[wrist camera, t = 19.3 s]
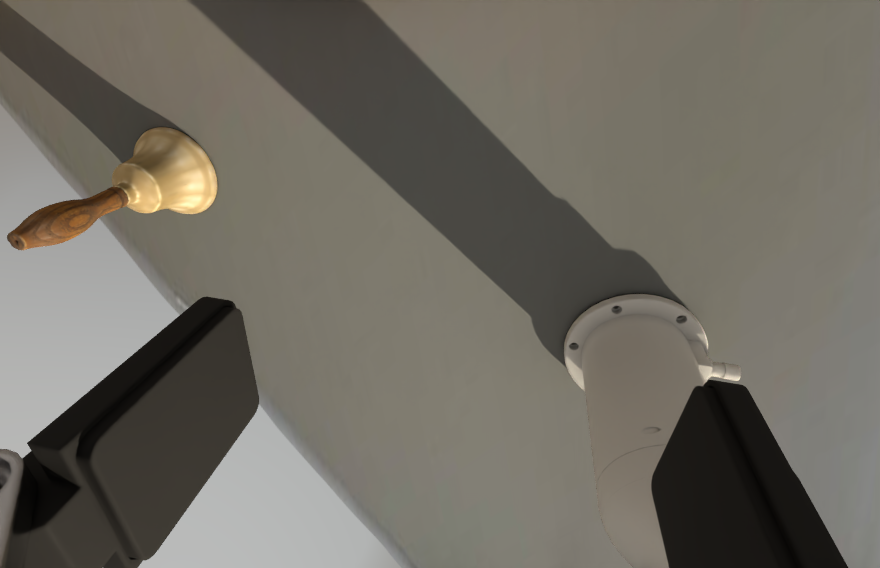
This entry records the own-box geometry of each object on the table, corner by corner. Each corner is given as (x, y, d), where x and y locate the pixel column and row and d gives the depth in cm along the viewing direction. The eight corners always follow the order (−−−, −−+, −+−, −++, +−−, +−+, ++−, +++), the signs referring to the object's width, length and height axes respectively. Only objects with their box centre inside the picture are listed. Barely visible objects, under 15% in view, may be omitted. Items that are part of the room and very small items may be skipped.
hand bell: (158, 106, 40) (-34, 153, 27) (233, 176, 42) (90, 251, 29) (123, 167, 44) (-60, 235, 31) (193, 228, 46) (51, 316, 33)
